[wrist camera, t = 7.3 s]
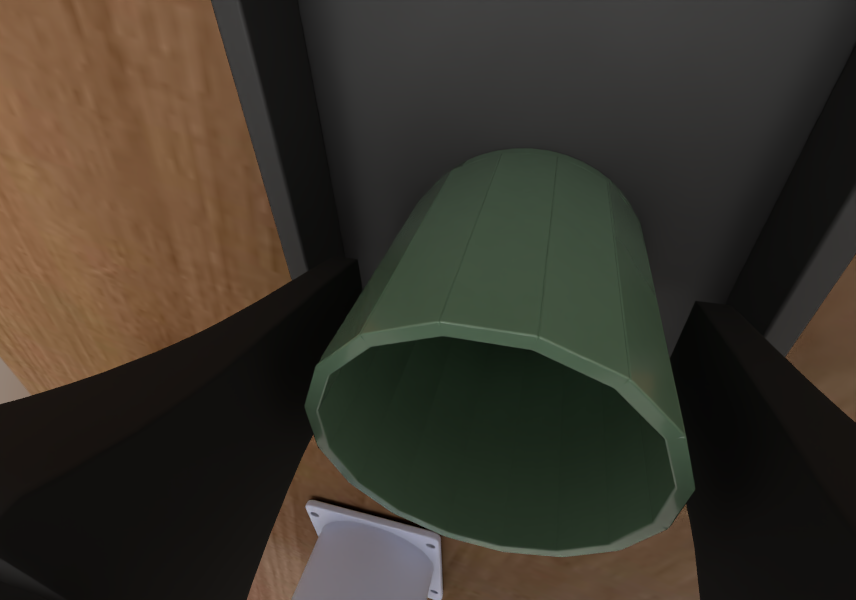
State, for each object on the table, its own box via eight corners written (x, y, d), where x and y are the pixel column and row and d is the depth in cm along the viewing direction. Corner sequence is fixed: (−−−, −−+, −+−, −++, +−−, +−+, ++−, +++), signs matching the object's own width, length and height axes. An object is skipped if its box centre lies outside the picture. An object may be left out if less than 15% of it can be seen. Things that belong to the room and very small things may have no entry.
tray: (657, 462, 16) (667, 530, 14) (364, 403, 18) (340, 453, 16) (1043, -253, 5) (1276, -351, 4) (250, -160, 8) (154, -190, 6)
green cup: (612, 357, 13) (629, 586, 8) (416, 326, 14) (338, 509, 9) (677, 155, 9) (777, 373, 4) (402, 140, 10) (263, 294, 6)
